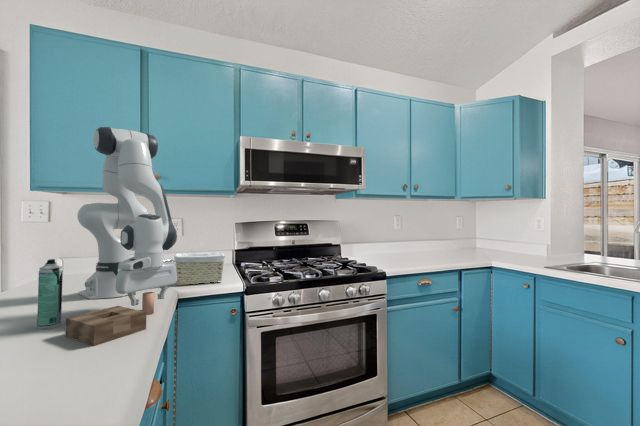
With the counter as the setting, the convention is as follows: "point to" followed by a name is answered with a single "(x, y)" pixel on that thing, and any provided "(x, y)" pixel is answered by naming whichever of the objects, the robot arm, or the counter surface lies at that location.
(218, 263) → the storage basket
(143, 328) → the bore block
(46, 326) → the spray can
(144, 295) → the pin
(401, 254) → the counter surface
